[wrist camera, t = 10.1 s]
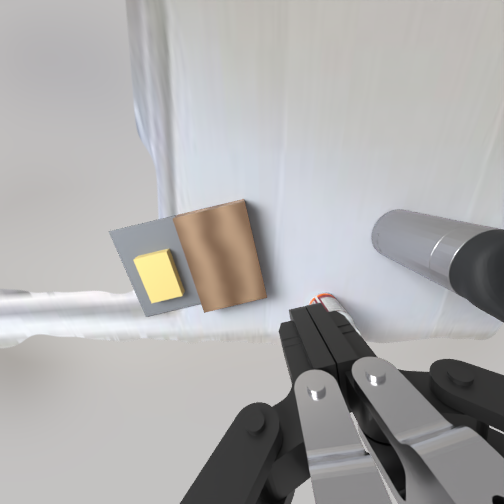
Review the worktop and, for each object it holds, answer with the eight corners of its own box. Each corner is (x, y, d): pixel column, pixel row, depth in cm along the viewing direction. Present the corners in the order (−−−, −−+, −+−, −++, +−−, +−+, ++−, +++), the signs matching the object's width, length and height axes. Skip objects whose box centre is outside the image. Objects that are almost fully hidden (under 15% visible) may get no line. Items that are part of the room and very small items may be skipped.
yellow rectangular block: (133, 259, 41) (137, 256, 43) (151, 303, 44) (154, 298, 46) (166, 251, 41) (169, 248, 43) (182, 295, 44) (184, 290, 46)
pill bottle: (316, 322, 50) (338, 361, 40) (302, 301, 49) (321, 337, 38) (341, 307, 50) (370, 343, 39) (327, 286, 48) (354, 317, 37)
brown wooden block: (243, 199, 41) (244, 201, 38) (264, 287, 47) (267, 297, 43) (178, 214, 41) (172, 218, 38) (206, 301, 47) (204, 312, 43)
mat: (175, 215, 41) (174, 215, 41) (204, 302, 47) (204, 302, 47) (109, 231, 41) (108, 231, 41) (146, 315, 47) (146, 316, 47)
